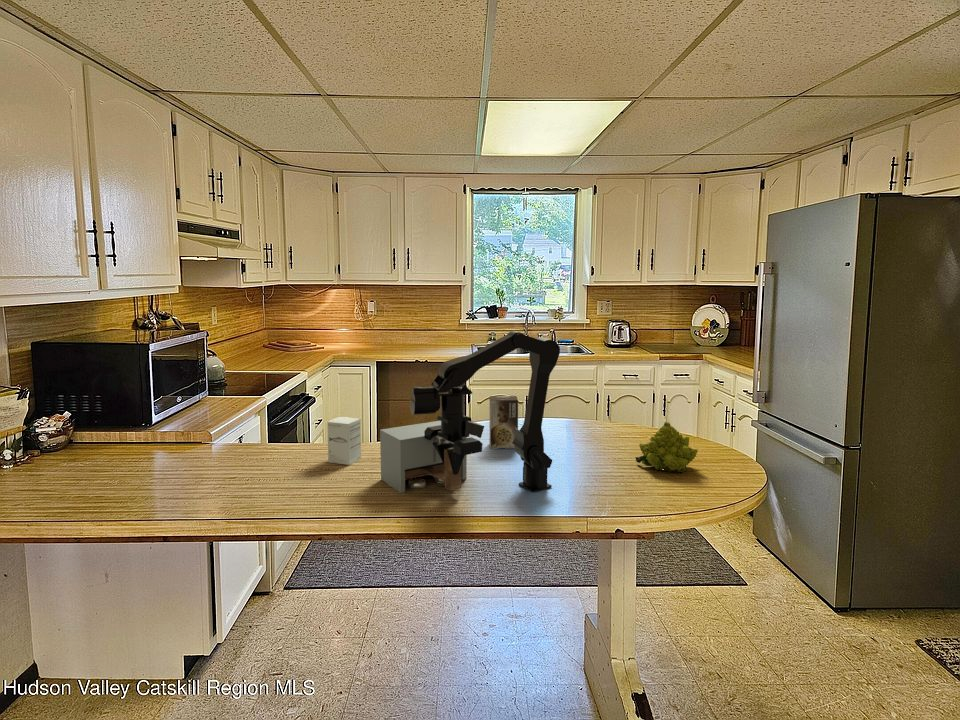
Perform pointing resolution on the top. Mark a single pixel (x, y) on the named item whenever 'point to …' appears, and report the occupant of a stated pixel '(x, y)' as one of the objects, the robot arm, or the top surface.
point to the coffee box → (503, 421)
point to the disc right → (439, 480)
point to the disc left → (416, 483)
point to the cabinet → (408, 453)
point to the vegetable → (667, 450)
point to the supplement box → (344, 440)
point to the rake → (438, 473)
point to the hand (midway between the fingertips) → (452, 472)
